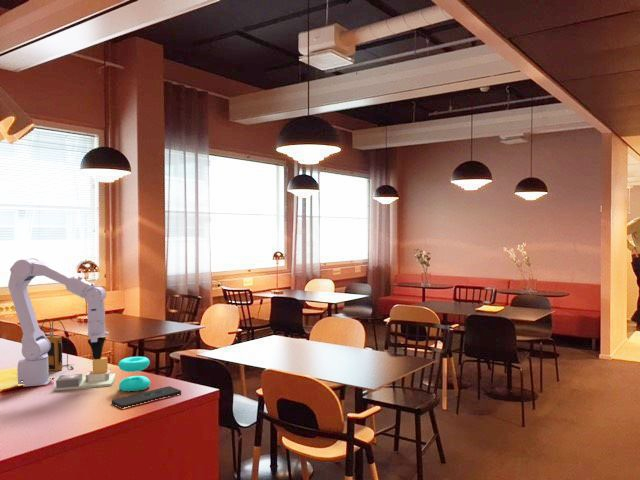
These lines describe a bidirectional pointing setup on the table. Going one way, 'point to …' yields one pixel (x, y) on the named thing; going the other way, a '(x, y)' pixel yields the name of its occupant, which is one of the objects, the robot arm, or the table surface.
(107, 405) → the table surface
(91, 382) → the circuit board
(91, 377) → the frame
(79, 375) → the grey dome button
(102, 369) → the plug
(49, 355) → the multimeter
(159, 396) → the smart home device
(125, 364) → the donuts
